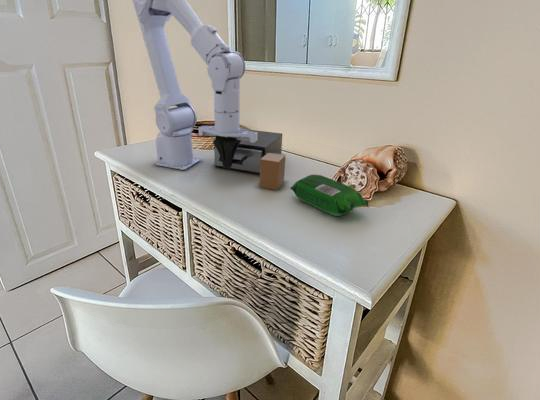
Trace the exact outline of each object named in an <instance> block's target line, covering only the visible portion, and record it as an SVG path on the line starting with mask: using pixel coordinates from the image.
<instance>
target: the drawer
mask: <svg viewBox="0 0 540 400" xmlns="http://www.w3.org/2000/svg"><path fill="white" fill-rule="evenodd" d="M213 149H214V152H213V153H214V166H215V165H217V166H222V167H223V164H222V160H221V157H220V155H219V152H218V150H217V148H216V147H215V145H214V144H213ZM262 157H263V149H256V148H249V147H242V146H238V147H237V149H236V152H235V155H234V158H233V161H232V166H231V167H230V168H234V169H240V170H246V171H252V172H257V173H260V159H261V158H262ZM222 167H221V168H222Z"/></svg>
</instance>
